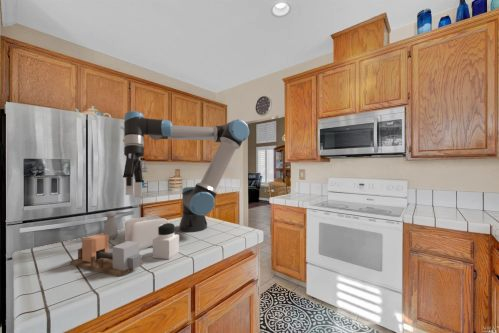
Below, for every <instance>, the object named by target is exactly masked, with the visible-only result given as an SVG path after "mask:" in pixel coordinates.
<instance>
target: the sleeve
mask: <svg viewBox="0 0 499 333" xmlns="http://www.w3.org/2000/svg"><path fill="white" fill-rule="evenodd" d="M81 240H82V241H81V244H82V245H81V246H82V247H81V248H82V261H87V262H91V257H92V256H95V261H96V251H101V252H106V253H110V251H109V248H110V247H109V246H110V245H109V241H110V240H109V235H105V234H104V233H97V234H93V235H91V236H86V237H84V238H82V239H81Z"/></svg>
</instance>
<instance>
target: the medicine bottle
mask: <svg viewBox="0 0 499 333" xmlns="http://www.w3.org/2000/svg"><path fill="white" fill-rule="evenodd" d="M178 253H180V234H177V233H175V224H174V223H171V222H167V223H164V224H161V225H159V226H158V237H156V238H154V239H153V246H152V258H154V259H161V260H170V259H171V258H173V257H174V256H176V255H178Z"/></svg>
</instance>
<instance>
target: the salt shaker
mask: <svg viewBox="0 0 499 333" xmlns="http://www.w3.org/2000/svg"><path fill="white" fill-rule="evenodd" d="M116 217H117V212H116V211H115V210H111V211H107V212H106V213H105V218H106V221H105V222H106V223H105V226H104V231H103V234H105V235H109V241H110V240H115V239H116V238H117V237H118V234H119V230H118V227H117V221H116Z"/></svg>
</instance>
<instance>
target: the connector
mask: <svg viewBox="0 0 499 333" xmlns="http://www.w3.org/2000/svg"><path fill="white" fill-rule="evenodd" d="M112 254H113V268H114V269H119V270H123V271H124V270H126V269H128V268H135V267H137V266H138V267H140V266H142V265H141V260H142V254H140V250H139V242H133V241H127V242H122V243H119V244H117V245H114V246H112ZM139 265H140V266H139ZM138 267H137V268H138ZM135 269H136V268H135Z"/></svg>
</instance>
